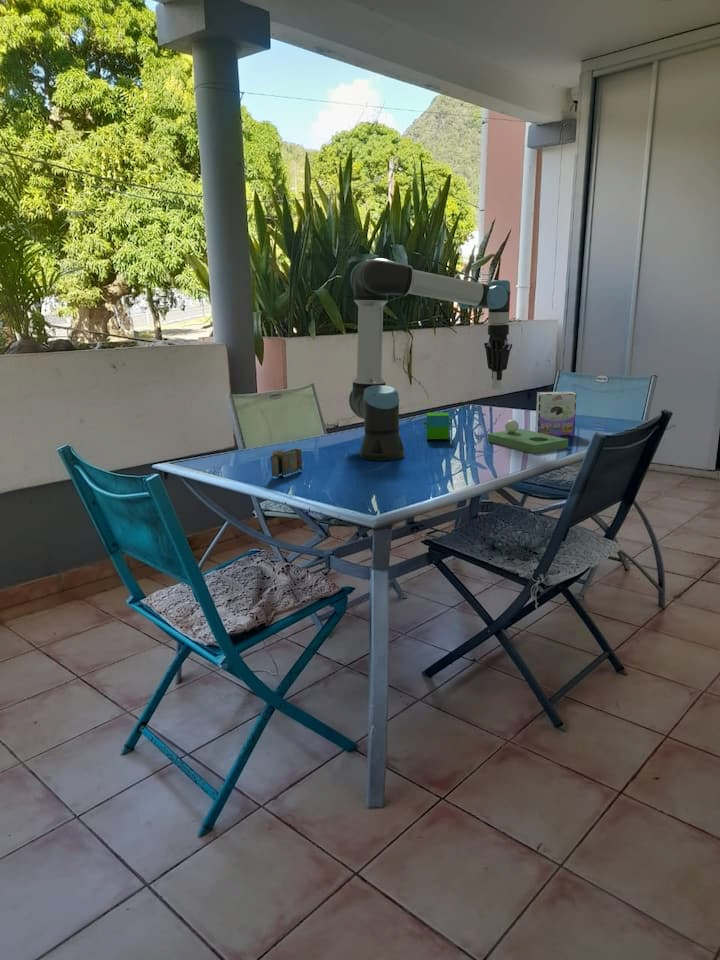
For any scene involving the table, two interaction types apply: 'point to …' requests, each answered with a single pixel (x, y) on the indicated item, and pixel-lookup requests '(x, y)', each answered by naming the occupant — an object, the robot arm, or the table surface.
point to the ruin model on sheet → (286, 462)
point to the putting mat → (528, 441)
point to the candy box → (556, 413)
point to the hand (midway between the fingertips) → (496, 388)
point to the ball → (511, 426)
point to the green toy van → (437, 426)
